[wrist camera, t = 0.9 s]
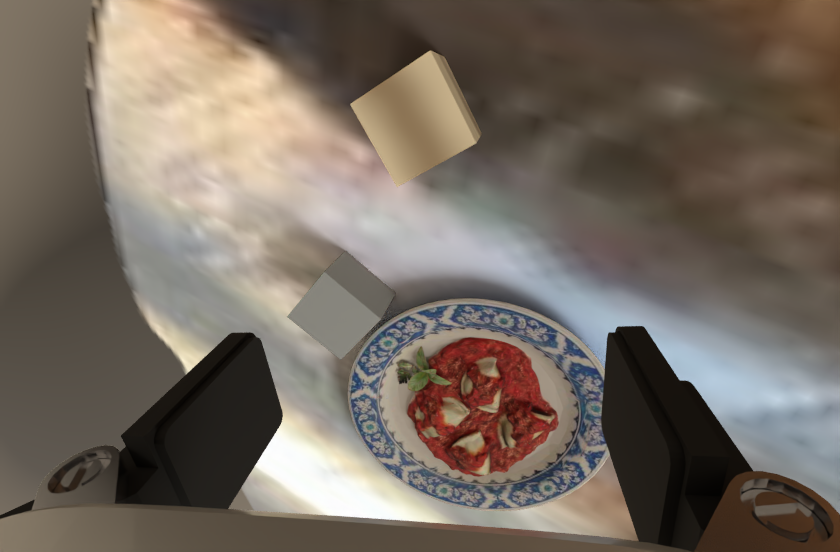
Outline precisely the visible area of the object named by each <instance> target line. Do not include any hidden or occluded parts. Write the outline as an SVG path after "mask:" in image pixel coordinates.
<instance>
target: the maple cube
mask: <svg viewBox="0 0 840 552" xmlns="http://www.w3.org/2000/svg"><path fill="white" fill-rule="evenodd" d="M350 105H351V107H352V108H353V110H354V112H355V114H356V116H357V117H358V119H359V121H360V123H361V124H362V126H363V128H364V130H365V131H366V133H367V135H368V137H369V139H370V140H371V142H372V144H373V146H374V147H375V149H376V151H377V153H378V154H379V156H380V158H381V160H382V161H383V163H384V165H385V167H386V169H387V170H388V172H389V174H390V176H391V177H392V179H393V181H394V183H395V184H396V186H397V187H398V186H400V185H402V184H403V183H405V182H407V181H409V180H411V179H412V178H414V177H416V176H418V175H420V174H422V173H423V172H425V171H427V170H429V169H431V168H432V167H434V166H436V165H438V164H440V163H441V162H443V161H445V160H447V159H449V158H450V157H452V156H454V155H456V154H458V153H459V152H461V151H463V150H465V149H467V148H469V147H470V146H472V145H474V144H476V143H477V141H478V139H479V138H480V136H481V134H482V133H481V131H480V129H479V127H478V125H477V123H476V121H475V119H474V117H473V115H472V113H471V111H470V109H469V106H468V104H467V102H466V100H465V98H464V96H463V94H462V92H461V90H460V88H459V86H458V84H457V82H456V80H455V78H454V76H453V73H452V71H451V69H450V67H449V65H448V63H447V61H446V59H445V57H444V56H441V55H439V54H437V53H435V52H433V51H431V50H430V51H429V52H427V53H426V54H424V55H423V56H421V57H420V58H418V59H417V60H415V61H414V62H412V63H411V64H409V65H408V66H406V67H405V68H403V69H402V70H400V71H399V72H397V73H396V74H394V75H393V76H391V77H390V78H388V79H387V80H385V81H384V82H382V83H381V84H379V85H378V86H376V87H375V88H373V89H372V90H370V91H369V92H367V93H366V94H365V95H363V96H362V97H360V98H359V99H357V100H356V101H354V102H353V103H351V104H350Z"/></svg>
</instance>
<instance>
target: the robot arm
mask: <svg viewBox="0 0 840 552" xmlns="http://www.w3.org/2000/svg"><path fill="white" fill-rule="evenodd" d="M282 417H283V413H282V409H281V406H280V402H279V399H278V395H277V392H276V389H275V385H274V382H273V379H272V375H271V372H270V369H269V365H268V362H267V359H266V355H265V352H264V349H263V345H262V342H261V340H260V339H259V338H257V337H256V336H255V335H254V334H253V333H231V334H229V335H228V336H227V337H226V338H225V339H224V340H223V341H222V342H221V343H219V344H218V345H217V346H216V347H215V348H214V349H213V350H212V351H211V352H210V353H209V354H208V355H207V356H206V357H205V358H203V359H202V360H201V361H200V362H199V363H198V364H197V365H196V366H195V367H194V368H193V369H192V370H191V371H190V372H188V373H187V374H186V375H185V376H184V377H183V378H182V379H181V380H180V381H179V382H178V383H177V384H176V385H175V386H174V387H172V389H170V390H169V391H168V392H167V393H166V394H165V395H164V396H163V397H162V398H161V399H160V400H159V401H157V403H155V404H154V405H153V406H152V407H151V408H150V409H149V410H148V411H147V412H146V413H145V414H144V415H143V416H141V417H140V418H139V419H138V420H137V421H136V422H135V423H134V424H133V425H132V426H131V427H130V428H129V429H128V430H127V431H125V432H124V433H123V434H122V435H121V437H122V439H123V441H124V443H125V445H126V447H125V448H124V449H123V450H122V451H121V452H119V450H118V449H117V448H116V447H114V446H108V445H104V446H97V447H93V448H90V449H87V450H84V451H82V452H80V453H78V454H75V455H73V456H72V457H70V458H68V459H67V460H65V461H64V462H62V463H60V464H59V465H58V466H57V467H55V468H54V469H53V470H52V471H51V472H50V473H49V474H48V475H47V476H46V477H45V478H44V479H43V481H42V483H41V485H40V486H39V488H38V492H37V495H36V498H35V500H33V501H31V502H28V503H26V504H24V505H22V506H20V507H18V508H15V509H13V510H11V511H9V512H7V513H5V514H2V515H0V552H840V514H839V513H838V512H837V511H836V510H835V509H834V508H833V507H832V506H831V505H830V503H829V502H828V501H826V500H825V499H824V498H822V497H821V496H820V495H818V494H817V493H816V492H814V491H813V490H811V489H810V488H808V487H806V486H804V485H802V484H800V483H798V482H797V481H795V480H792V479H789V478H786V477H784V476H781V475H778V474H773V473H768V472H763V471H753V470H752V468H751V467H750V466H749V464H748V463H747V461H746V460H745V458H744V457H743V456H742V454H741V453H740V451H739V450H738V448H737V447H736V445H735V444H734V443H733V441H732V440H731V438H730V437H729V435H728V434H727V433H726V431H725V430H724V428H723V427H722V425H721V424H720V423H719V421H718V420H717V418H716V417H715V415H714V414H713V413H712V411H711V410H710V408H709V407H708V405H707V404H706V402H705V401H704V400H703V398H702V397H701V395H700V394H699V392H698V391H697V390H696V388H695V387H694V386H693V385H692V383H691V382H688V381H680V380H679V379H678V377H677V376H676V374H675V373H674V371H673V370H672V368H671V367H670V365H669V364H668V362H667V361H666V359H665V358H664V356H663V355H662V353H661V352H660V350H659V349H658V347H657V346H656V344H655V343H654V341H653V340H652V338H651V337H650V335H649V334H648V332H647V331H646V329H645V328H644V327H643V326H625V327H617V328H616V332H615V333H609V334H608V337H607V349H606V362H605V375H604V387H603V400H602V413H601V426H602V432H603V435H604V438H605V441H606V444H607V447H608V450H609V453H610V456H611V459H612V462H613V465H614V468H615V471H616V474H617V477H618V480H619V483H620V486H621V489H622V492H623V495H624V498H625V501H626V504H627V507H628V510H629V513H630V516H631V519H632V522H633V525H634V528H635V531H636V534H637V537H638V540H639V541H631V540H623V539H616V538H608V537H599V536H588V535H577V534H566V533H555V532H544V531H533V530H522V529H508V528H495V527H481V526H468V525H454V524H441V523H427V522H414V521H400V520H385V519H371V518H357V517H342V516H327V515H312V514H297V513H282V512H267V511H251V510H234V509H228V508H229V506H230V505H231V503H232V501H233V499H234V498H235V497H236V495H237V493H238V492H239V490H240V489H241V487H242V485H243V484H244V482H245V481H246V479H247V477H248V476H249V474H250V473H251V471H252V469H253V468H254V466H255V465H256V463H257V461H258V460H259V458H260V457H261V455H262V453H263V452H264V450H265V449H266V447H267V445H268V444H269V442H270V441H271V439H272V437H273V436H274V434H275V433H276V431H277V429H278V428H279V426H280V424H281V422H282Z"/></svg>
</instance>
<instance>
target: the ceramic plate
mask: <svg viewBox="0 0 840 552" xmlns="http://www.w3.org/2000/svg"><path fill="white" fill-rule="evenodd" d="M604 375H605V369H604V368H603V366H602V365H601V363H600V362H599V360H598V359H597V357H596V356H595V355H594V354H593V353H592V351H591V350H590V349H589V348H588V347H587V346H586V345H585V344H584V343H583V342H582V341H581V340H580V339H579V338H578V337H576V336H575V335H574V334H573V333H571V332H570V331H569V330H567V329H566V328H564V327H563V326H561V325H560V324H558V323H557V322H555V321H553V320H551V319H549V318H547V317H545V316H544V315H542V314H539V313H537V312H534V311H532V310H529V309H527V308H523V307H520V306H517V305H513V304H510V303H507V302H501V301H494V300H487V299H475V298H461V299H448V300H441V301H436V302H431V303H427V304H424V305H421V306H418V307H414V308H412V309H410V310H407V311H405V312H403V313H401V314H399V315H397V316H396V317H394V318H392V319H390V320H389V321H388V322H386V323H385V324H384V325H382V326H381V327H380V328H379V329H378V330H377V331H375V332H374V333H373V334H372V335H371V336H370V338H369V339H368V340H367V341H366V342H365V343H364V345H363V346H362V348H361V349H360V351H359V353H358V355H357V357H356V359H355V361H354V363H353V366H352V369H351V372H350V377H349V382H348V403H349V410H350V413H351V417H352V421H353V423H354V426H355V429H356V431H357V433H358V435H359V437H360V438H361V440H362V442H363V443H364V445H365V446H366V448H367V449H368V450H369V452H370V453H371V454H372V456H373V457H374V458H375V459H376V460H377V461H378V462H379V463H380V464H381V465H382V466H383V467H384V468H385V469H386V470H387V471H388V472H389V473H390V474H392V475H393V476H395V477H396V478H397V479H399V480H400V481H402V482H403V483H405V484H406V485H408V486H409V487H411V488H413V489H414V490H416V491H418V492H420V493H422V494H425V495H427V496H429V497H432V498H434V499H436V500H439V501H442V502H444V503H447V504H451V505H455V506H460V507H465V508H470V509H476V510H482V511H512V510H522V509H527V508H532V507H537V506H540V505H544V504H547V503H550V502H553V501H555V500H558V499H560V498H562V497H564V496H566V495H568V494H570V493H572V492H573V491H575V490H577V489H578V488H580V487H581V486H582V485H584V484H585V483H586V482H588V481H589V480H590V479H591V478H592V477H593V476H594V475H595V474H596V473H597V472H598V470H599V469H600V468H601V467H602V466H603V464H604V463H605V461H606V459H607V458H608V456H609V454H610V453H609V450H608V447H607V444H606V441H605V438H604V435H603V432H602V426H601V413H602V400H603V387H604Z"/></svg>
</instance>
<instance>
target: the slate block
mask: <svg viewBox="0 0 840 552" xmlns="http://www.w3.org/2000/svg"><path fill="white" fill-rule="evenodd" d="M395 294H396V293H395V292H394V291H393V290H391V289H390V288H389V287H388V286H387V285H386V284H384V283H383V282H382V281H381V280H380V279H378V278H377V277H376V276H375V275H374V274H373V273H371V272H370V271H369V270H368V269H367V268H366V267H364V266H363V265H362V264H361V263H360V262H359V261H357V260H356V259H355V258H354V257H353V256H351V255H350V254H349V253H348V252H347V251H345V252H344V253H343V254H342V255H341V256H340V257H339V258H338V259H337V260H336V261H335V262H334V263H333V264H332V265H331V266H330V267H329V268H328V269H327V270H326V271H325V272H324V273H323V274H322V275H321V276H320V278H319V279H318V280H317V281H316V282H315V284H314V285H313V286H312V287H311V288H310V290H309V291H308V292H307V293H306V295H305V296H304V297H303V298H302V299H301V301H300V302H299V303H298V304H297V305H296V307H295V308H294V309H293V310H292V311H291V313H290V314H289V315H288V316H287V317H288V318H289V319H290V320H292V321H293V322H294V323H295V324H297V325H298V326H299V327H300V328H302V329H303V330H304V331H305V332H307V333H308V334H309V335H310V336H312V337H313V338H314V339H315V340H317V341H318V342H319V343H320V344H321V345H323V346H324V347H325V348H326V349H328V350H329V351H330V352H331V353H333V354H334V355H335V356H336V357H338V358H339V359H340V360H341V359H342V358H343V357H344V356H345V355H346V354H347V353H348V352H349V351H350V350H351V349H352V348H353V347H354V346H355V345H356V344H357V343H358V342H359V341H360V340H361V339H362V338H363V337H364V336H365V335H366V334H367V333H368V332H369V331H370V330H371V329H372V328H373V327H374V326H375V325H376V324H377V323H378V322H379V321H380V320H381V319H382V317H383V315H384V313H385V311H386V310H387V308H388V306H389V304H390V303H391V301H392V299H393V297H394V295H395Z"/></svg>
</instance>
